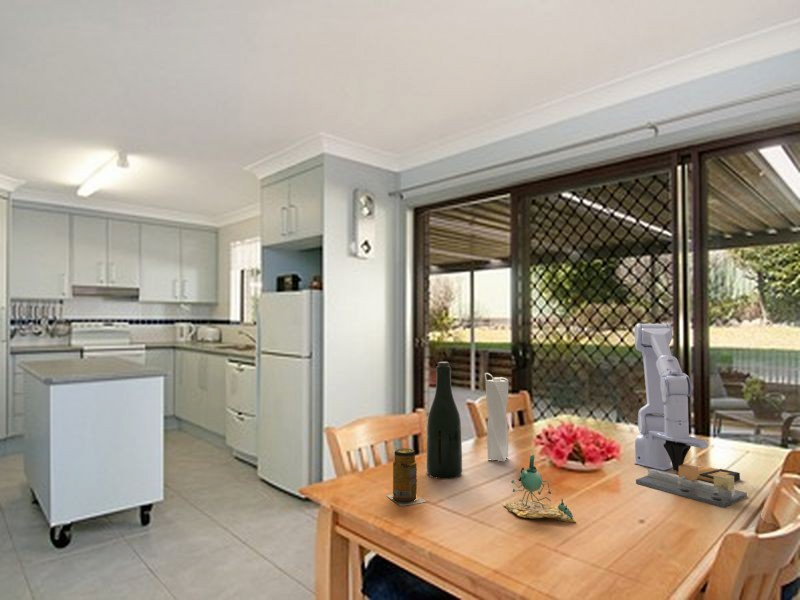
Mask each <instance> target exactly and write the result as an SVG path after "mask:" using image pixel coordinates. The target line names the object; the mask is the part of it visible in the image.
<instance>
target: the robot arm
mask: <svg viewBox="0 0 800 600" xmlns="http://www.w3.org/2000/svg"><path fill="white" fill-rule="evenodd" d="M633 333H634V335H633V336H634V344H635V345H634V346H635V349H636V351H638V352H639V353H640V352H641V355H642V356H641V357H642V360H643V361H642V362H643V371H644V381H645V383H644V384H645V397H646V404H645V405H643V406H642V407H640V409H639V410H638V412H637V428H638V431H639V434H638V435H637V436H636V438H635V443H634V448H635V452H634V453H635V455H634V456H635V457H634V458H635V461H634V462H633V463H634V464H636V465H640V466H643V467H648V468H650V469H655V470H659V471H667V470H671V469H673V471H675V472H678V471H679V467H678V466H680V465H683V464H684V462H685V459H686V457H687V454H688V452H689V451H690V449H691V447H694V448H698V449H701V450H705V449H708V440H705V439H701V438H696V437H693V436H690V434H689V433H690V432H689V431H690V430H689V429H690V428H689V425H690V424H689V423H690V422H689V398H690V396H691V394H692V383H691V379H690V377H689V375H687V374H686V373H685V372H683V371H682V368H681V365H680V363H679V360H678V359H677V357H675V356H673V355H672V352H671V347H670V344H671V342H672V339H673V328H672V325H670V323H669V322H668V323H667V322H666V323H640V322H639V323H636V324H635V326H634V332H633ZM688 397H689V398H688Z"/></svg>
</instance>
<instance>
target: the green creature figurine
mask: <svg viewBox="0 0 800 600" xmlns="http://www.w3.org/2000/svg"><path fill="white" fill-rule="evenodd" d="M535 458H536V457H535V454H531V455H530V457H529V465H528V468H526V470H525V468H524V467H521V469H520V473H519V475H520V476H519V478H517V481H518V482H520V483H521V485H519V486H518V485H517V484H516V483H515V480H514V479H512V480H511V484H514V485H515V486H516V487H517V488H518V489H519V488H521V487H523V489H522V490H520V489H519V490H518V489H516V490H515V488H513V489H512V492H513V493H515V492H524V491H525V492H524V495H523V496H522V499H518V502H517V501H513V502H506V503H504V504H502V506H503V507H505V508H506V509H507V510H508V512H512V513H514V514H515V515H516V516H517V517H520V518H521V517H522V518H525V519H527V518H529V519H542V518H549V519H550V518H554V519H555V520H557V521H563V522H565V523H577V521H576V519H574V516H573V512H571V510H570V508H568V505H567V504H565V503H564V498H561V502H560V503H558V505H553V504H550V503H551V498H549V497H547V496H546V497H542V498H537V497H538V496H536V495H535V494H534V493H535V492H536V491H537V493H538V495H541V494H542V492H543V490H544V488H545V484H544V483H543V482H545V483H547V487H548V491H547V494H549V495H551V494H552V491H551V488H550V485H549V481H547V480H543V479H542V475H541V474H540V473H539V472H538V469H537V467H536V466H535V465H534V463H535ZM540 489H541V490H540ZM539 490H540V491H539ZM528 492H529V493H528ZM526 493H528V494H527V497H526V500H524V498H525V496H526ZM529 496H530V497H531V500H529ZM533 497H534V498H535V499H536V500H534V499H533ZM545 499H547V500H548V501H549V502H550V503H548V502H547V503H546V502H545V503H544V502H542V500H545Z"/></svg>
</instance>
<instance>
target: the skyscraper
mask: <svg viewBox="0 0 800 600" xmlns="http://www.w3.org/2000/svg"><path fill="white" fill-rule="evenodd" d="M487 375H488V376H490V377H491V379H487ZM484 379H485V396H486V397H485V398H486V407H487V408H486V409H487V415H488V416H487V433H486V434H487V438H486V440H487V441H486V443H487V460H488V459H491V460H498V461H497V462H499V461H505V460H506V461H507V459H508V458H509V430H508V429H509V428H508V420H507V410H508V409H507V408H508V400H509V379H508V378H506V377H502V376H501V377H494V376H493V375H492V374H491V373H489V372H484ZM507 457H508V458H507ZM506 458H507V459H506ZM506 461H505V462H506Z"/></svg>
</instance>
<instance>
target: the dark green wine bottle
mask: <svg viewBox="0 0 800 600" xmlns="http://www.w3.org/2000/svg"><path fill="white" fill-rule="evenodd" d="M435 370H436V371H435V372H436V383H435V384H436V385H435V392H434V397H433V401H432V404H431V406H430V409H429V411H428V415H427V423H426V473H427V475H429V476H430V475H431V477H432V476H433V478H436V477H437V479H443V478H448V479H454V478H458V477H460V476H461V475H462V473H463V444H462V441H463V439H462V438H463V437H462V424H461V423H462V421H461V416H460V412H459V409H458V407H457V404H456V402H455V398H454V394H453V389H452V380H451V379H452V374H451V373H452V368H451V366H450V362H448V361H439V362H437V366H436V368H435Z"/></svg>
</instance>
